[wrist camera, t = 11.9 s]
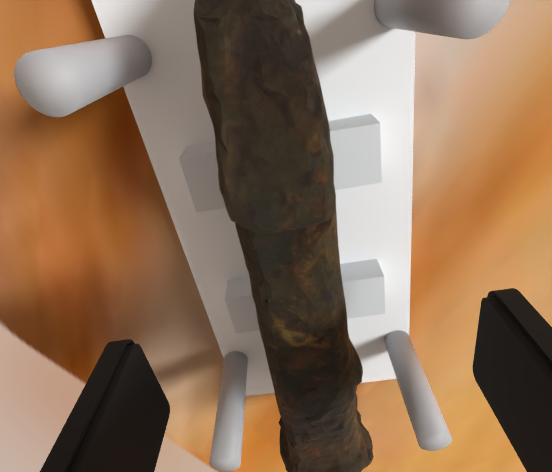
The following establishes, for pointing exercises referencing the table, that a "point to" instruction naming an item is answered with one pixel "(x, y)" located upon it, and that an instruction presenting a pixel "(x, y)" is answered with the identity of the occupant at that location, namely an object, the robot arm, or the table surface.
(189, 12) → the peg rack
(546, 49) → the table surface
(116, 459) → the robot arm
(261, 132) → the dark brown rough rod
